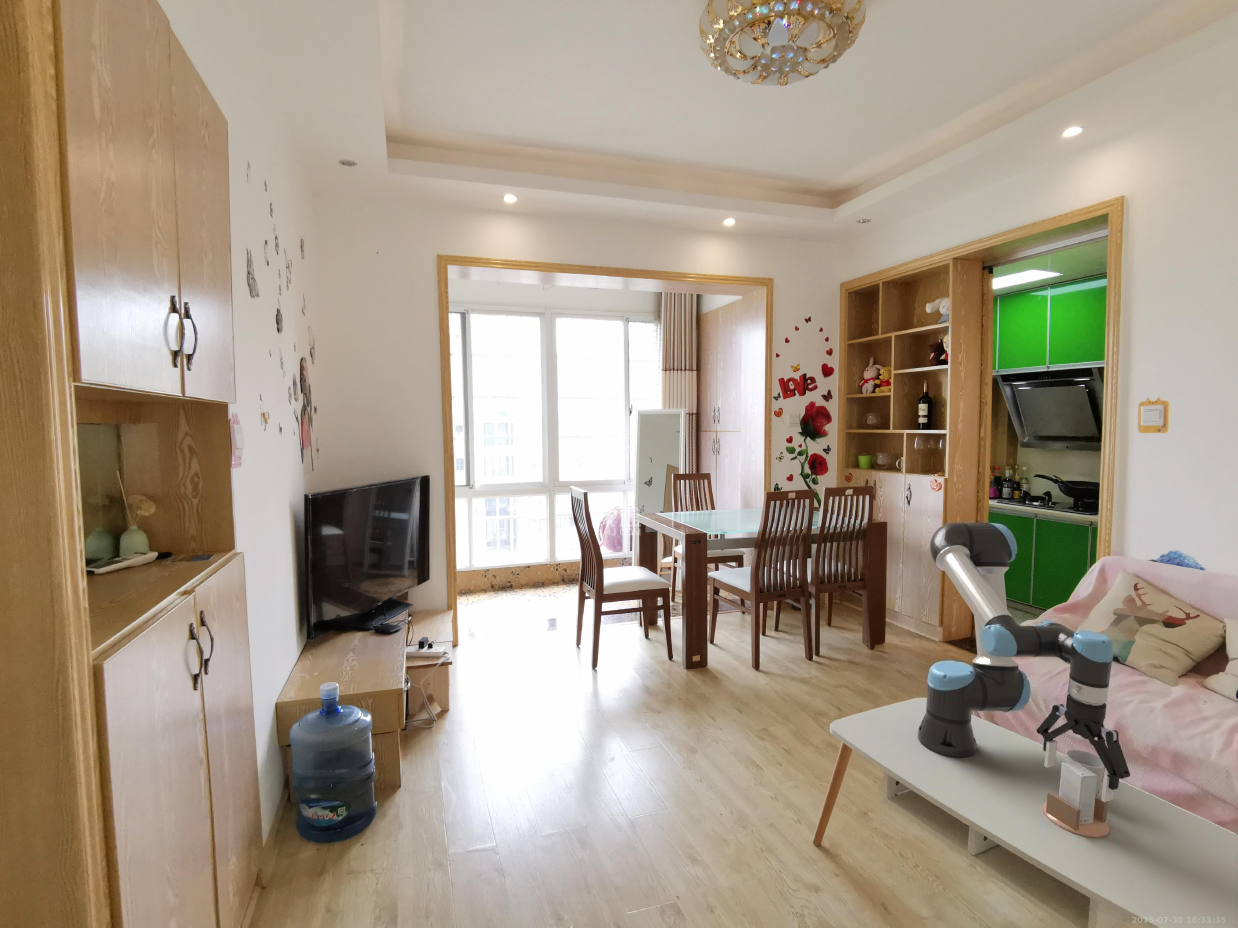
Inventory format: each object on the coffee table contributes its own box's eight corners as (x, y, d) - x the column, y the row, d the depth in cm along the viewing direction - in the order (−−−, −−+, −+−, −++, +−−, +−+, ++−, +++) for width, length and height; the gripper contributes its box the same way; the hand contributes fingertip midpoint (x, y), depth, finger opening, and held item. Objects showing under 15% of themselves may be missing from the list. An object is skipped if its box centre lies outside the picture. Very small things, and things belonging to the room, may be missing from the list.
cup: (1108, 807, 156) (1112, 769, 155) (1072, 802, 158) (1075, 765, 157) (1091, 788, 164) (1095, 751, 163) (1056, 783, 165) (1059, 747, 164)
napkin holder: (1030, 807, 155) (1031, 786, 155) (1067, 797, 160) (1069, 776, 159) (1084, 842, 143) (1086, 819, 143) (1123, 830, 147) (1125, 808, 147)
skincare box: (1093, 823, 149) (1098, 775, 148) (1077, 824, 148) (1081, 776, 147) (1072, 807, 155) (1076, 760, 154) (1056, 808, 154) (1060, 761, 153)
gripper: (1025, 676, 159) (1017, 755, 161) (1133, 727, 135) (1122, 819, 138) (1047, 672, 161) (1038, 750, 164) (1157, 722, 138) (1145, 811, 141)
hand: (1077, 782), depth 151 cm, fingers open, 13 cm apart
